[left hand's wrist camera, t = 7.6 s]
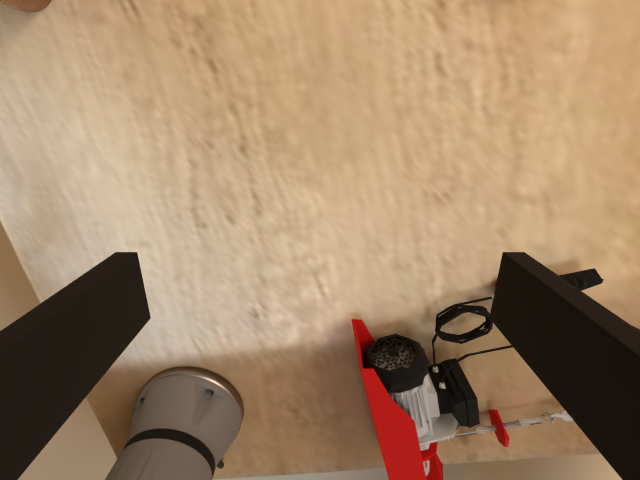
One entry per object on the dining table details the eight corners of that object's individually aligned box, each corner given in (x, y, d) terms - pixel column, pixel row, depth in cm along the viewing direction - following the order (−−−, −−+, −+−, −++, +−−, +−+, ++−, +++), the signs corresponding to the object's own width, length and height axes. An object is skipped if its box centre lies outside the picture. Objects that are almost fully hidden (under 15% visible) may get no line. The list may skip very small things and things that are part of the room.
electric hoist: (659, 304, 33) (358, 365, 35) (628, 473, 43) (397, 511, 46) (583, 258, 42) (349, 309, 45) (573, 407, 53) (383, 441, 55)
